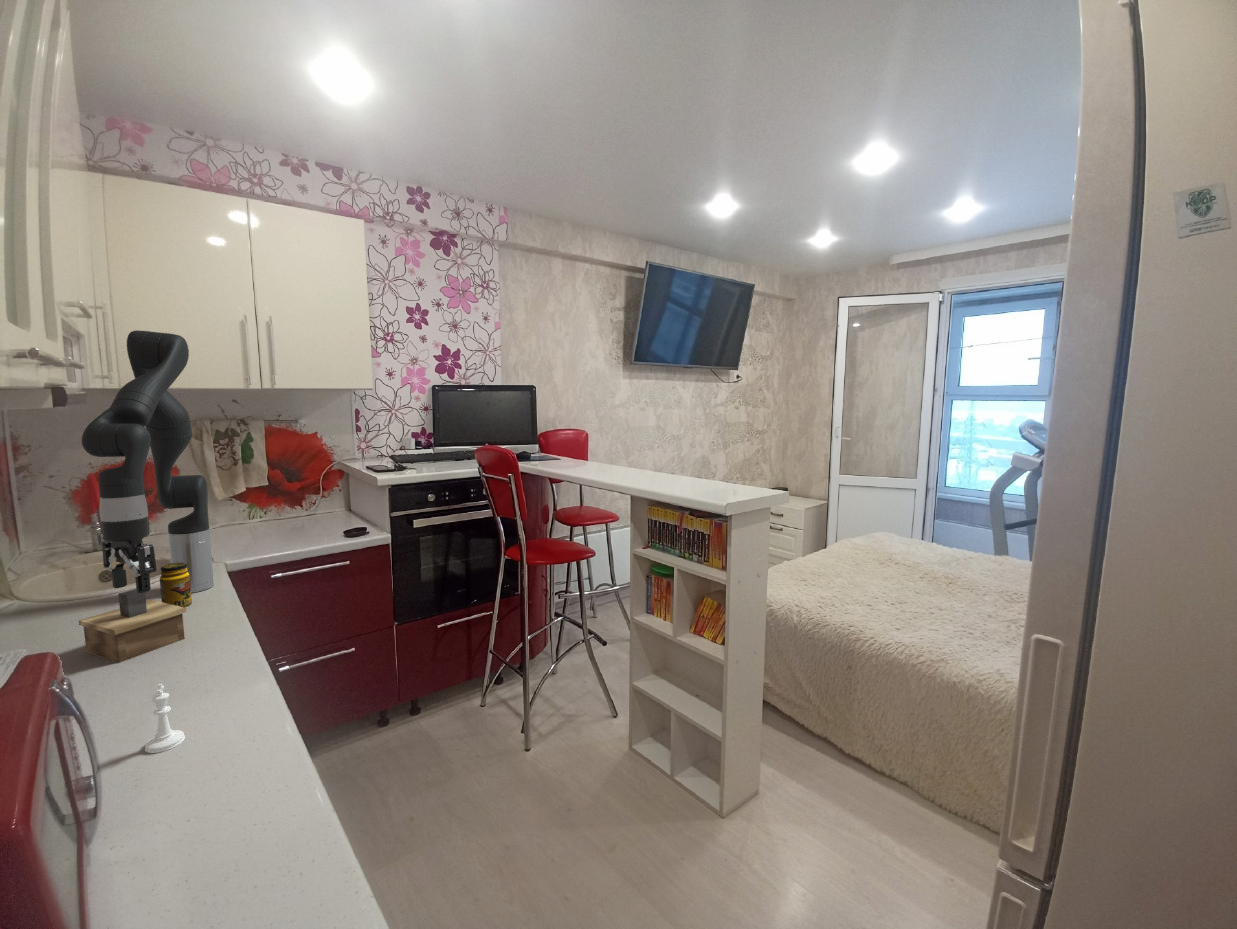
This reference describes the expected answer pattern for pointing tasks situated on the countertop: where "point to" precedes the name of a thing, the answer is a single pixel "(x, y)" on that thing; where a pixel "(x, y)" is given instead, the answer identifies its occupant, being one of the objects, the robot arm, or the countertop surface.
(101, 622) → the lid
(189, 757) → the countertop surface
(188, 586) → the condiment
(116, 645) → the box
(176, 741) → the chess piece
